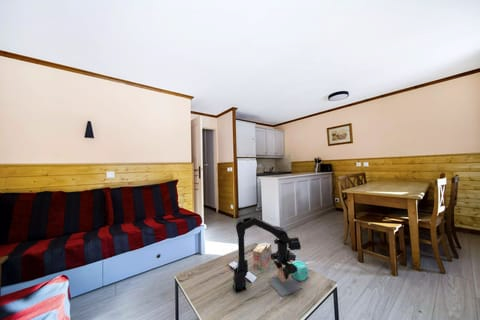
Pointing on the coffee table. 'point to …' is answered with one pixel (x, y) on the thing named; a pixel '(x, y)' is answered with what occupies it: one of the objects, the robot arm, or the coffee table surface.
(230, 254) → the coffee table surface
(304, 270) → the decorative dice
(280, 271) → the terracotta cube
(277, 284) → the slate mat
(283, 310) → the coffee table surface
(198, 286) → the coffee table surface
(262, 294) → the coffee table surface
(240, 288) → the robot arm
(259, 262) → the stack of blocks
